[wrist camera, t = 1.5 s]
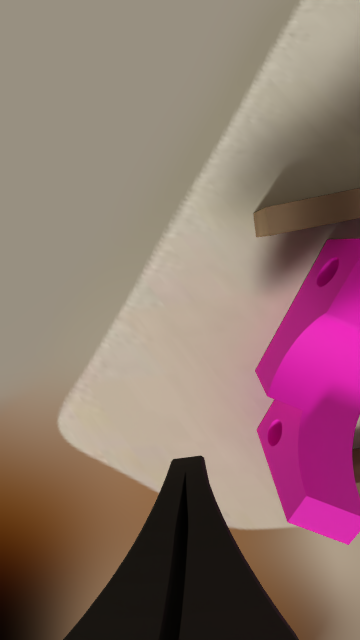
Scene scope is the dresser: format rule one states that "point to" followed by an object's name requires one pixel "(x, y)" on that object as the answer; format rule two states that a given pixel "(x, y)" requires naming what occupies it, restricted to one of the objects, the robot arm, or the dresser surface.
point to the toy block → (317, 396)
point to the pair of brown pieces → (309, 216)
